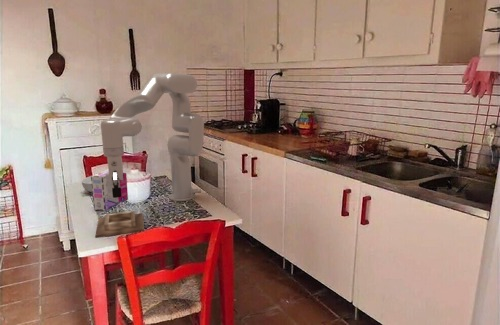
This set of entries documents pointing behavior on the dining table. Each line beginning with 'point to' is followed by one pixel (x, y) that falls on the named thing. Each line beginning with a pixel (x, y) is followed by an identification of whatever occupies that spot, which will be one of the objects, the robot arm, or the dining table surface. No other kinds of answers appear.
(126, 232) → the walnut stand
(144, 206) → the dining table surface
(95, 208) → the candy box
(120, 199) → the supplement box
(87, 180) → the cereal bowl
